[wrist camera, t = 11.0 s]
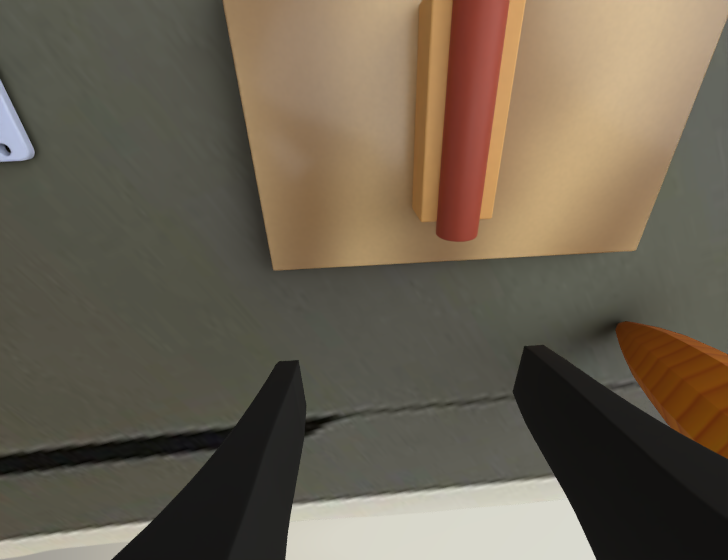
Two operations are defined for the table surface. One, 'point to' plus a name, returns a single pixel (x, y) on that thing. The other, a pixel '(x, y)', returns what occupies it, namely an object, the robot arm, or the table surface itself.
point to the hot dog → (462, 109)
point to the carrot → (680, 381)
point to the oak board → (522, 136)
